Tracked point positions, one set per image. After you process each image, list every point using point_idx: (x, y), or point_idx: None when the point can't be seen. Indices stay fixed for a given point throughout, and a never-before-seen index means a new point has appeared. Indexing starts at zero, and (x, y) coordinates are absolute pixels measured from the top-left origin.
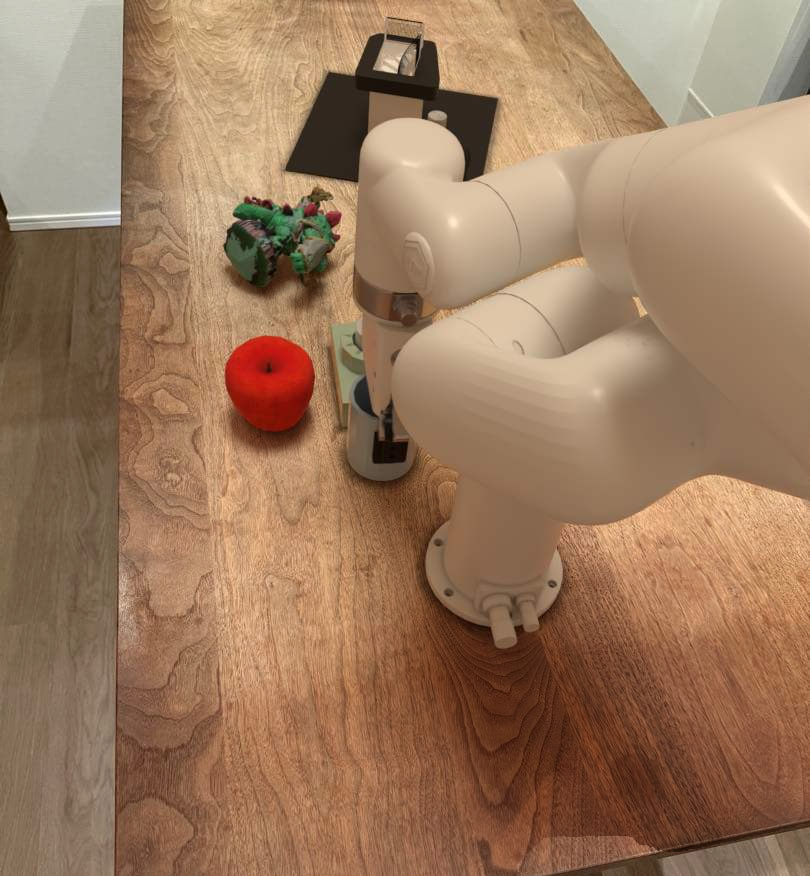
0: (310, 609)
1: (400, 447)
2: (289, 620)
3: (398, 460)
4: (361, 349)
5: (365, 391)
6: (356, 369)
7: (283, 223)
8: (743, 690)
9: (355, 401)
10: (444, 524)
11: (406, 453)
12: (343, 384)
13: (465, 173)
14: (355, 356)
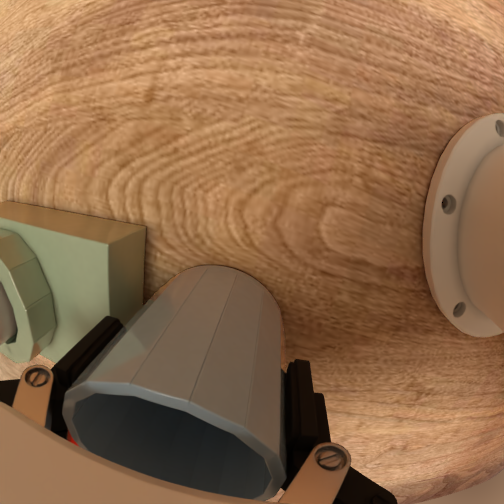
0: (423, 440)
1: (328, 431)
2: (420, 452)
3: (322, 395)
4: (12, 336)
5: (118, 423)
6: (47, 343)
7: None
8: None
9: (147, 445)
10: (437, 287)
11: (311, 379)
12: None
13: None
14: (27, 358)
